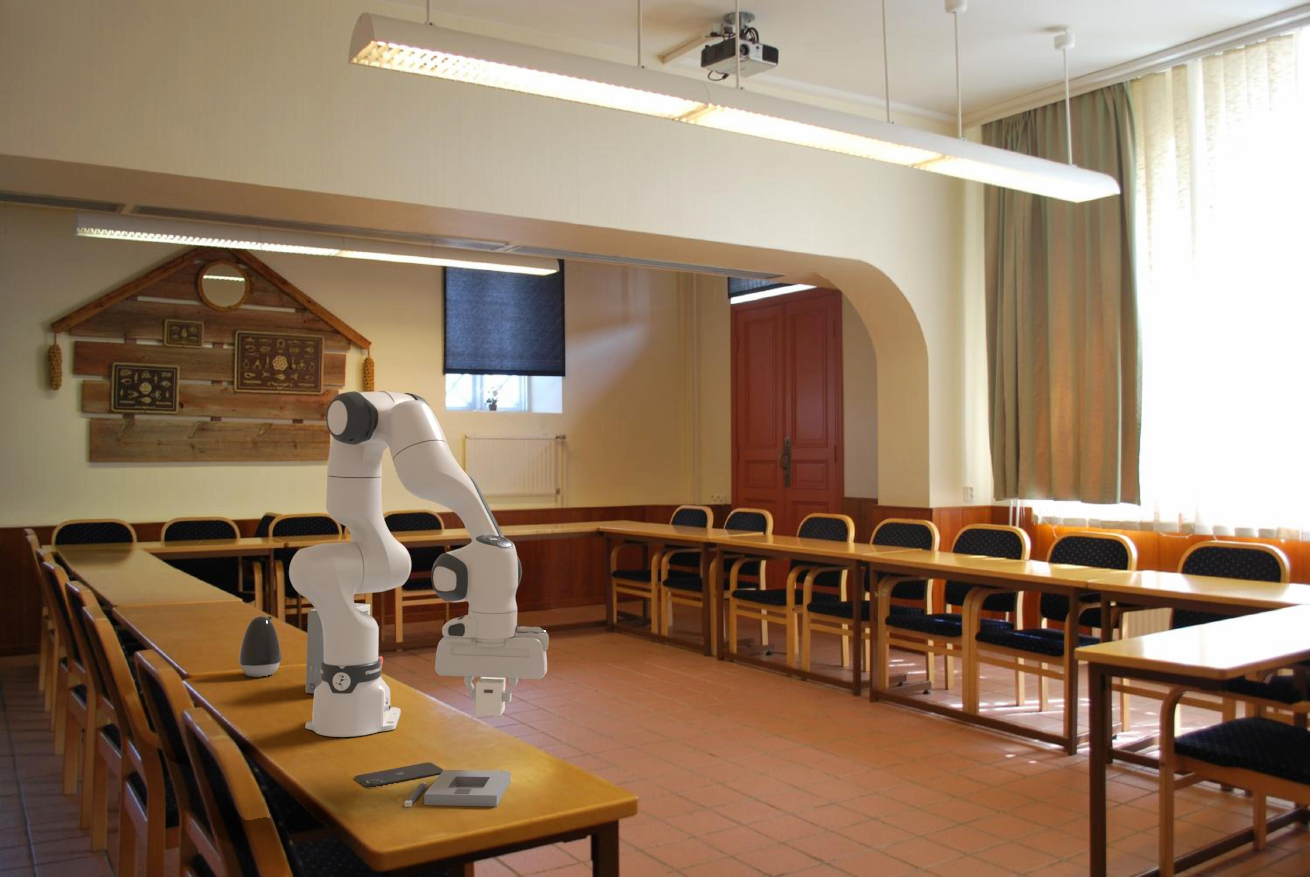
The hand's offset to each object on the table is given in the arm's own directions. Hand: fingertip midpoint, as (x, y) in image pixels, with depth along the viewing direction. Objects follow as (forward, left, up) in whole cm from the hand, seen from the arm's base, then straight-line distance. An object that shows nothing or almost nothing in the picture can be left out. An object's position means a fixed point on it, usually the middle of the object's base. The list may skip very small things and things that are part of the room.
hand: (490, 700), depth 190 cm
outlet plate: (+12, -1, -13) cm, 18 cm away
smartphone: (+4, -15, -13) cm, 21 cm away
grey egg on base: (-75, -75, -13) cm, 107 cm away
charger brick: (0, 0, -2) cm, 2 cm away
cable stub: (+15, -10, -13) cm, 22 cm away
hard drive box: (-62, -50, -13) cm, 81 cm away
